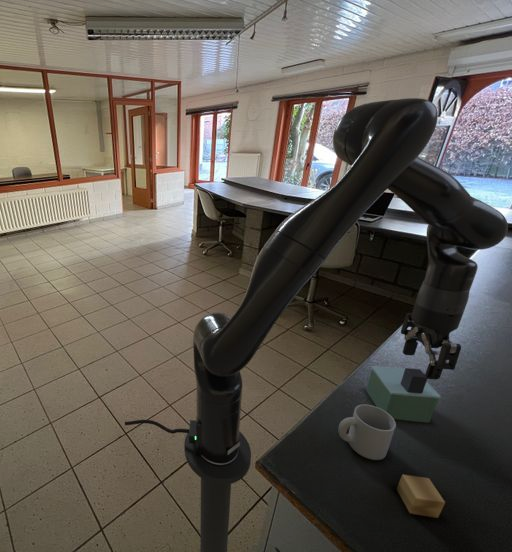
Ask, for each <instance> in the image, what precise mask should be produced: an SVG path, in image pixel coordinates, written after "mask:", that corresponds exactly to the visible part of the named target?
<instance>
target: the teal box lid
mask: <svg viewBox="0 0 512 552" xmlns="http://www.w3.org/2000/svg"><path fill="white" fill-rule="evenodd" d="M370 368H371V370H372V369H373V371H374V372H375V373H376V375H377V376H378V377H379V379H380V380H381V381H382V383H383V384H384V385H385V387H386V388H387V389H388V391H389V392H390V393H391V394H393V395H404V396H415V397H426V398H438V400H441V399H442V396H441V395H440V394H439V393H438V391H436V390H435V389H434V387H432V385H431V384H430V383H429V382H428V380H429V379H428V378H427V377H426V376H425V374H426V373H425V372H423V371H422V369H420V368H411V367H408V368H407V367H392V366H379V365H371V366H370Z"/></svg>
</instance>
